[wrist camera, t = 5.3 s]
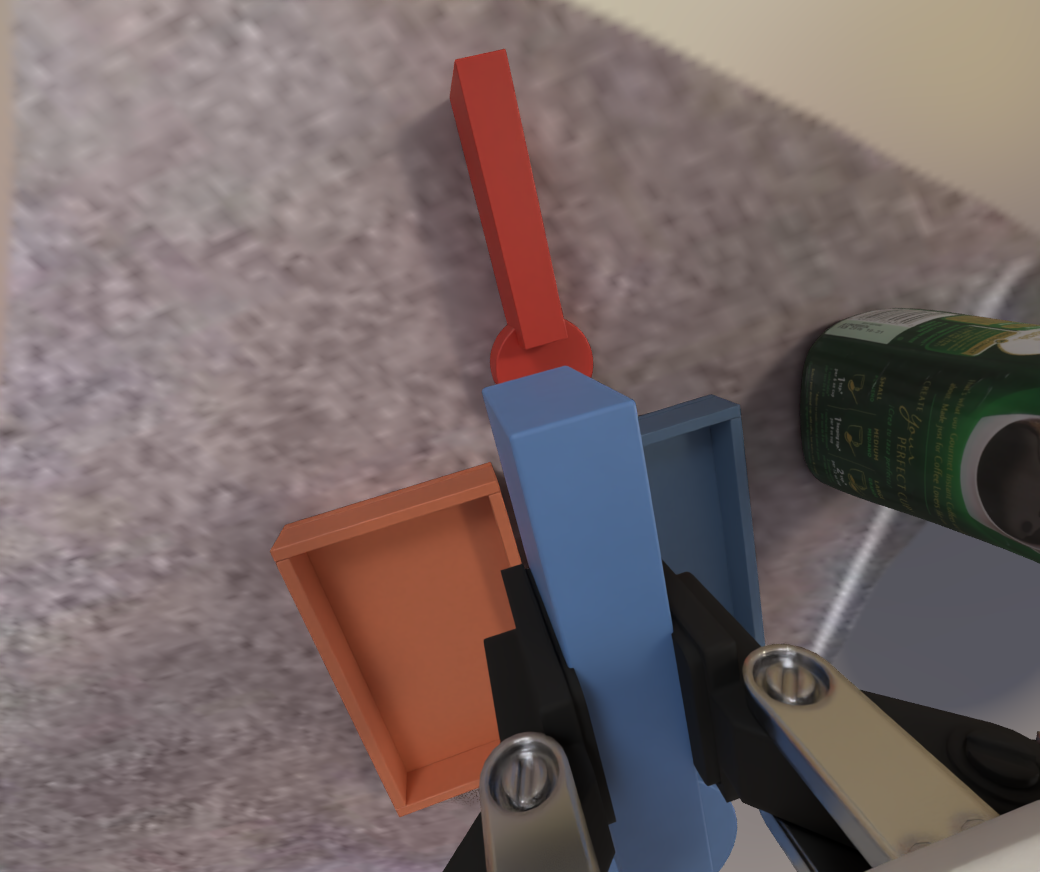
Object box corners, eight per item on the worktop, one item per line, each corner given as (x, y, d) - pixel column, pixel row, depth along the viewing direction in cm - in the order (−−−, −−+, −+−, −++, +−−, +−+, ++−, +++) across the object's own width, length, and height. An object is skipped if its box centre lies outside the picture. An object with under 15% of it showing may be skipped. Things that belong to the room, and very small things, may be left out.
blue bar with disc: (415, 405, 9) (410, 464, 6) (628, 347, 10) (725, 373, 7) (558, 856, 14) (599, 1029, 10) (702, 801, 14) (784, 950, 11)
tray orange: (284, 524, 23) (268, 551, 21) (490, 461, 24) (497, 480, 22) (401, 774, 29) (399, 818, 26) (564, 714, 30) (576, 751, 27)
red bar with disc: (417, 104, 19) (416, 67, 16) (522, 80, 20) (542, 39, 17) (503, 417, 24) (515, 437, 21) (588, 391, 24) (613, 407, 21)
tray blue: (525, 450, 24) (535, 468, 22) (711, 393, 25) (740, 404, 23) (592, 704, 30) (606, 740, 28) (742, 649, 31) (769, 678, 29)
